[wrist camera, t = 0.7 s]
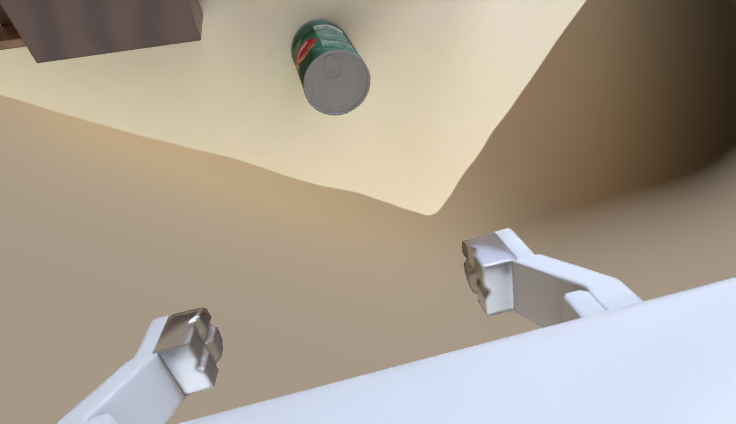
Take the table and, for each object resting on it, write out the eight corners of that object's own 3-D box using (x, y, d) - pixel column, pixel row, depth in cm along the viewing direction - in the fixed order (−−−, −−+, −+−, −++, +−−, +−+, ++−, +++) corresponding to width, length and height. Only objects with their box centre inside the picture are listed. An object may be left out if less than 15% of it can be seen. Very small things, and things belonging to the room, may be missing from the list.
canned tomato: (355, 66, 57) (377, 102, 50) (303, 86, 57) (316, 125, 49) (339, 9, 52) (361, 40, 44) (281, 30, 52) (293, 64, 44)
